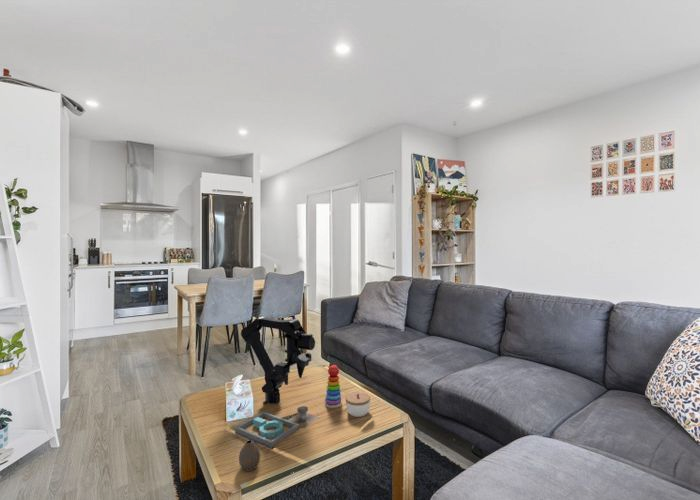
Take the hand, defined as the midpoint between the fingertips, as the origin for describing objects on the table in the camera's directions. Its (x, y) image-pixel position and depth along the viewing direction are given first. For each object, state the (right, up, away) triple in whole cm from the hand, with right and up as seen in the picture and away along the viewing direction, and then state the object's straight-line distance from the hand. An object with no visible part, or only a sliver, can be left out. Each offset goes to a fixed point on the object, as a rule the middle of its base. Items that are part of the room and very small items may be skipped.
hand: (293, 381), depth 158 cm
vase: (-8, -13, -42) cm, 45 cm away
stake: (+6, -12, -13) cm, 19 cm away
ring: (-7, -12, -20) cm, 25 cm away
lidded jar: (+30, -12, -8) cm, 33 cm away
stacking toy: (+18, -12, +1) cm, 22 cm away
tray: (-7, -13, -20) cm, 25 cm away
